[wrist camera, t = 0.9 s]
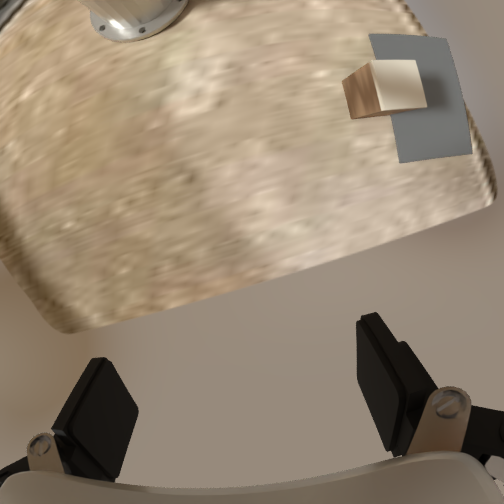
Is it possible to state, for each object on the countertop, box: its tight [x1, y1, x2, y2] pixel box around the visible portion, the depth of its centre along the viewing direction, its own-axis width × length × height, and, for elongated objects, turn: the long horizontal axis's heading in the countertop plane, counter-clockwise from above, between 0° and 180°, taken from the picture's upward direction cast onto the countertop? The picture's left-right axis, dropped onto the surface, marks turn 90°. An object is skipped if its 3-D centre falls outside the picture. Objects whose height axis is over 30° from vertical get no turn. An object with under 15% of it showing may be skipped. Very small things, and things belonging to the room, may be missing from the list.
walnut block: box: [342, 60, 427, 119], centre depth 25 cm, size 4×4×9 cm
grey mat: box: [369, 34, 472, 163], centre depth 28 cm, size 16×12×1 cm
